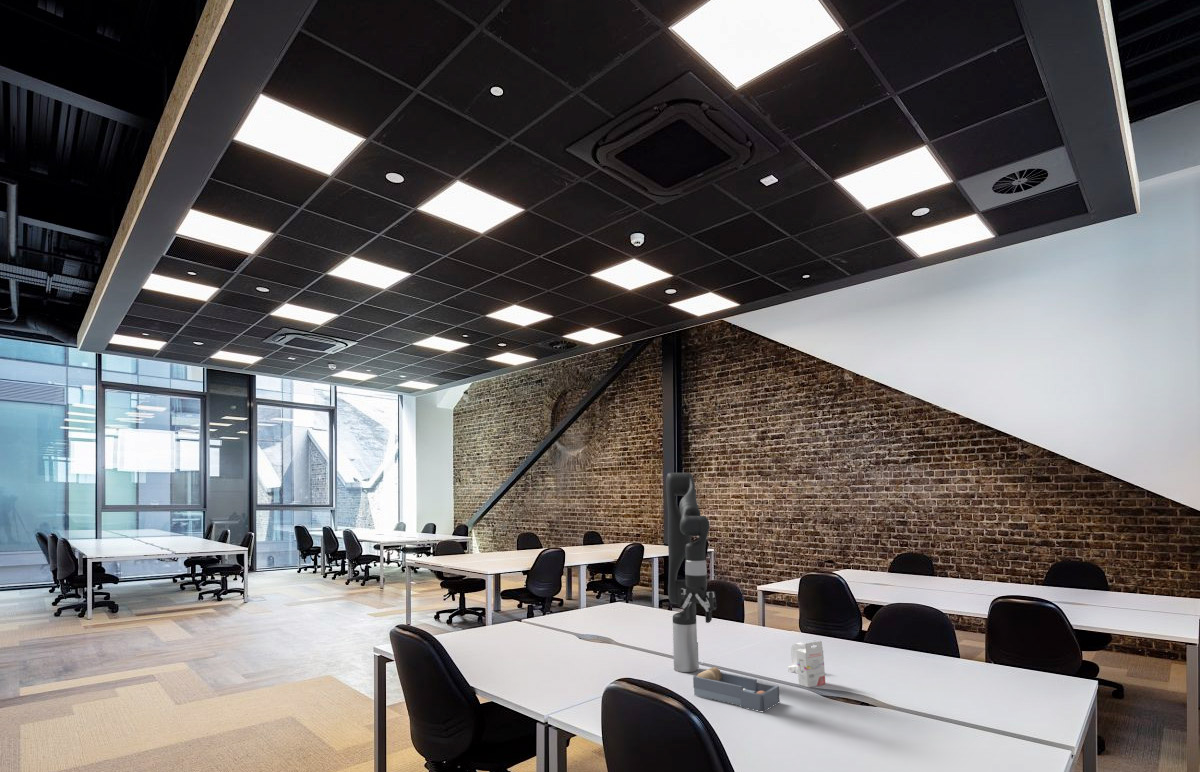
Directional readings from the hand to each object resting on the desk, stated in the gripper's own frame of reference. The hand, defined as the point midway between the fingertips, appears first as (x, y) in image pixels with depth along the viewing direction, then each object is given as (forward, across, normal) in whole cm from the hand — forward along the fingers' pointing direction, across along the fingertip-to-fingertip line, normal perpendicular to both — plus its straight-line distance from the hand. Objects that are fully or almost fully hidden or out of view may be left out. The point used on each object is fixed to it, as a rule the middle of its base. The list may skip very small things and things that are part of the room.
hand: (697, 620), depth 221 cm
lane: (+23, -14, 0) cm, 27 cm away
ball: (+21, -23, 0) cm, 31 cm away
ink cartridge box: (+23, -27, -32) cm, 48 cm away
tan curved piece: (+21, -4, 0) cm, 21 cm away
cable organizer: (+23, -17, -46) cm, 54 cm away
